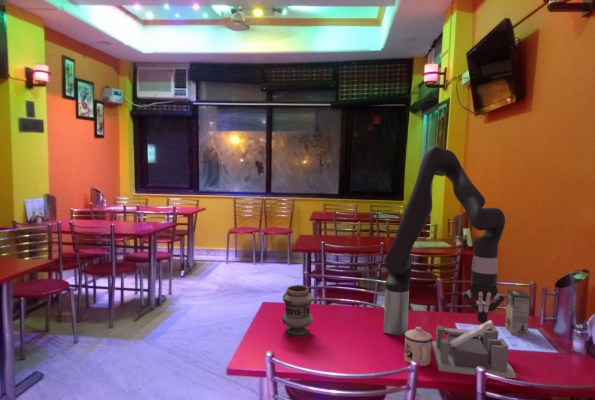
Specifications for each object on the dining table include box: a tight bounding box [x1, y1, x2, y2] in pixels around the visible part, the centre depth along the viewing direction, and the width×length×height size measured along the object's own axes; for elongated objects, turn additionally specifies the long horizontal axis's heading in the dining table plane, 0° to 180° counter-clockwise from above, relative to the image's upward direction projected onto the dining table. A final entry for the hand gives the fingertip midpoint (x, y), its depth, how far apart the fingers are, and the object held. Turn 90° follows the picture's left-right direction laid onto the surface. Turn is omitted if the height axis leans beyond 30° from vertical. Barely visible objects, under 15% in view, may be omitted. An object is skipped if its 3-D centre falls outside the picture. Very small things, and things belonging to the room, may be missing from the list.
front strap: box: [448, 319, 497, 349], centre depth 137 cm, size 16×3×2 cm
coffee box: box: [504, 289, 531, 337], centre depth 170 cm, size 9×6×16 cm
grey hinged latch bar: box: [443, 326, 483, 338], centre depth 149 cm, size 16×3×2 cm, turn 78°
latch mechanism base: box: [431, 325, 517, 379], centre depth 143 cm, size 23×20×10 cm
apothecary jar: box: [281, 284, 314, 338], centre depth 165 cm, size 12×12×18 cm
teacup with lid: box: [404, 326, 433, 367], centre depth 141 cm, size 12×9×12 cm
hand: (481, 322), depth 136 cm, fingers closed
